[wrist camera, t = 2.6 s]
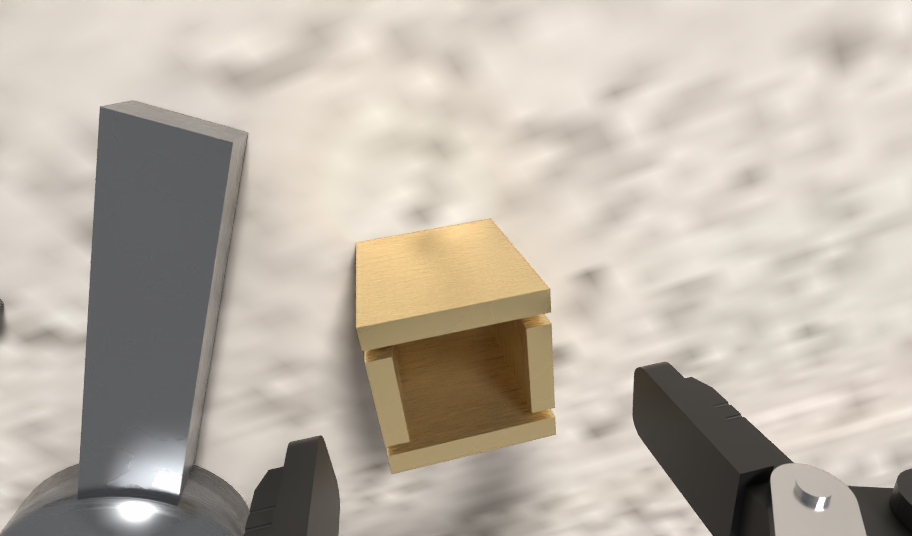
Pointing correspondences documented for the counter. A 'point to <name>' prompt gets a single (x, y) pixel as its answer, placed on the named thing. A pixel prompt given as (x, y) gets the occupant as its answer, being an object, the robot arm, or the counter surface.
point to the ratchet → (149, 334)
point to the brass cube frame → (454, 343)
